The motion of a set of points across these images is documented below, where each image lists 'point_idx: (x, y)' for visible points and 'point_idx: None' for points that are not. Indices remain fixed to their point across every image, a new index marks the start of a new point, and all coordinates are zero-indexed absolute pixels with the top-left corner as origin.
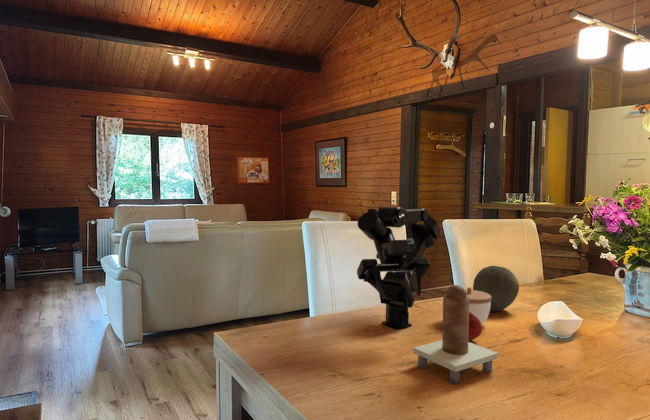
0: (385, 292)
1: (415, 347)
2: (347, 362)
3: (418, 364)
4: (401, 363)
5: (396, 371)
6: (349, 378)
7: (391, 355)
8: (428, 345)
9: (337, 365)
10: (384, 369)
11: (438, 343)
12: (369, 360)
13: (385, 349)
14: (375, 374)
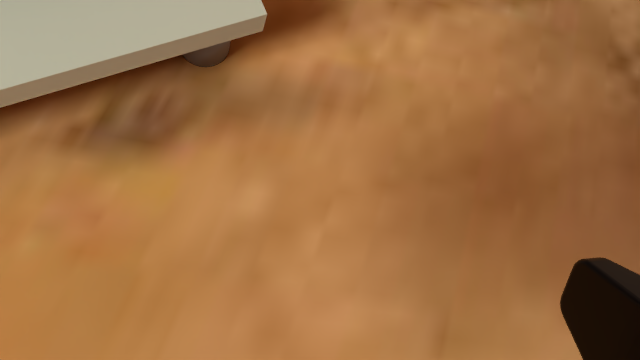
0: (629, 284)
1: (252, 12)
2: (581, 176)
3: (230, 40)
4: (306, 109)
5: (366, 24)
6: (588, 10)
7: (325, 230)
8: (141, 24)
9: (629, 150)
10: (418, 59)
11: (39, 42)
12: (468, 181)
13: (332, 335)
14: (473, 18)
